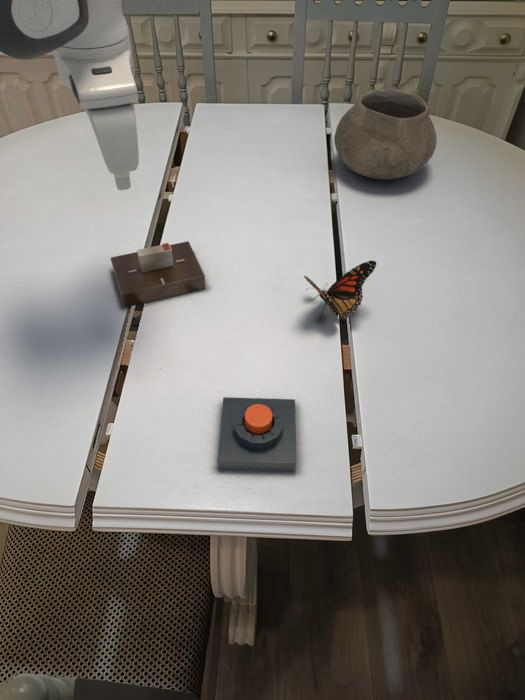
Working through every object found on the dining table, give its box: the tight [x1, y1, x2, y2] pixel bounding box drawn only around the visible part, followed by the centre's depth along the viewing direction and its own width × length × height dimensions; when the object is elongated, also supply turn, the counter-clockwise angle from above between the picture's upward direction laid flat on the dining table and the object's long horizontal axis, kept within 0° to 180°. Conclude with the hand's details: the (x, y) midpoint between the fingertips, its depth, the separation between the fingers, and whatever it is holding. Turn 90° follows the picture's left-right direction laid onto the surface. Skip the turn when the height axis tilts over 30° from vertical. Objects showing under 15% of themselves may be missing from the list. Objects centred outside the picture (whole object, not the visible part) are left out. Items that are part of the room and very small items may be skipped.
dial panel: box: [110, 241, 207, 308], centre depth 92 cm, size 14×10×3 cm
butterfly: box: [303, 260, 377, 320], centre depth 85 cm, size 12×10×10 cm
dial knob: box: [136, 242, 174, 273], centre depth 89 cm, size 6×2×4 cm, turn 111°
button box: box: [217, 396, 298, 472], centre depth 71 cm, size 10×10×4 cm
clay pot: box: [333, 88, 438, 180], centre depth 113 cm, size 22×21×15 cm
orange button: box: [245, 404, 273, 434], centre depth 69 cm, size 4×4×2 cm
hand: (116, 169), depth 73 cm, fingers open, 8 cm apart
